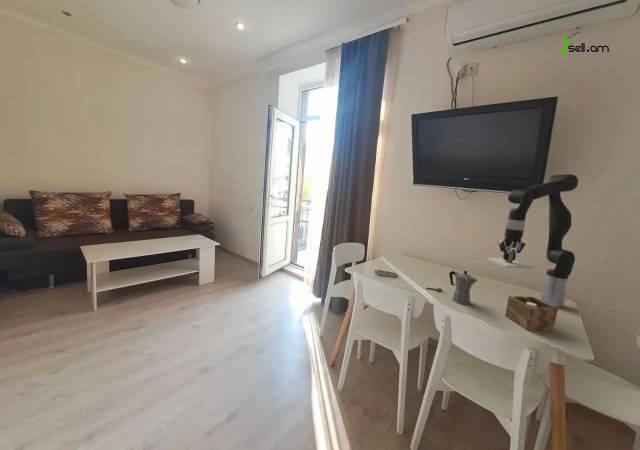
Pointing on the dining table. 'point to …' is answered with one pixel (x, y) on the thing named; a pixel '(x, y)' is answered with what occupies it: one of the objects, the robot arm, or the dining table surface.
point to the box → (531, 313)
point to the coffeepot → (462, 287)
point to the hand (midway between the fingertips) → (508, 259)
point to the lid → (509, 262)
